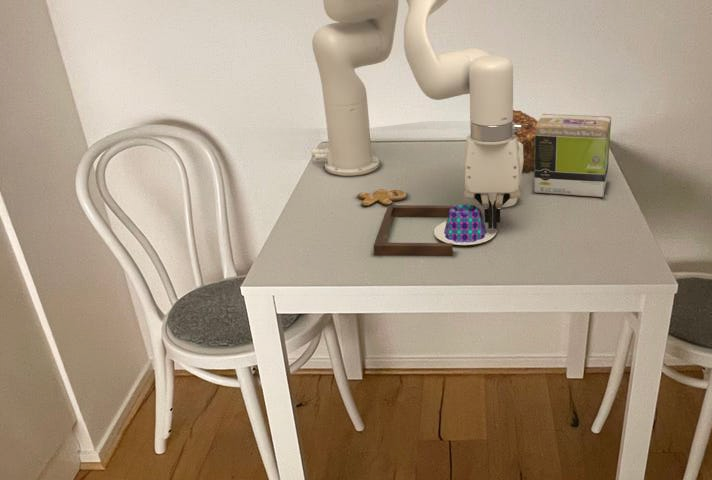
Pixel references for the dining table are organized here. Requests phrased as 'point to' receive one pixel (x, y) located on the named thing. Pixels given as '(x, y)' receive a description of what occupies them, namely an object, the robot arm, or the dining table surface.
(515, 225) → the dining table surface
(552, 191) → the tea box
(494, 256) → the dining table surface
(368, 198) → the cookie
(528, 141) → the bread
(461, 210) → the pudding
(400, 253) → the frame
